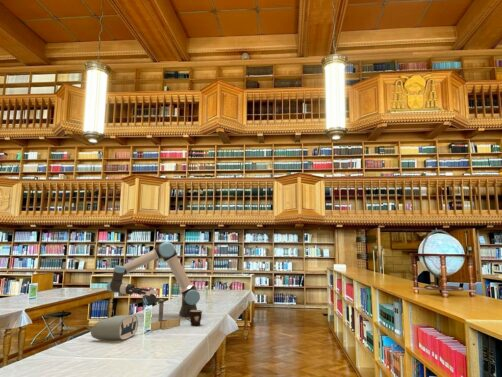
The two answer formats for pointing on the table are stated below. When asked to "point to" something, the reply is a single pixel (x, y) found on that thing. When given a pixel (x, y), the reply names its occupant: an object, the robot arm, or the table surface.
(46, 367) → the table surface
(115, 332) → the pencil case
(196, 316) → the coffee mug
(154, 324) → the hinge leaf
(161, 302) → the hinge pin
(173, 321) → the hinge leaf
